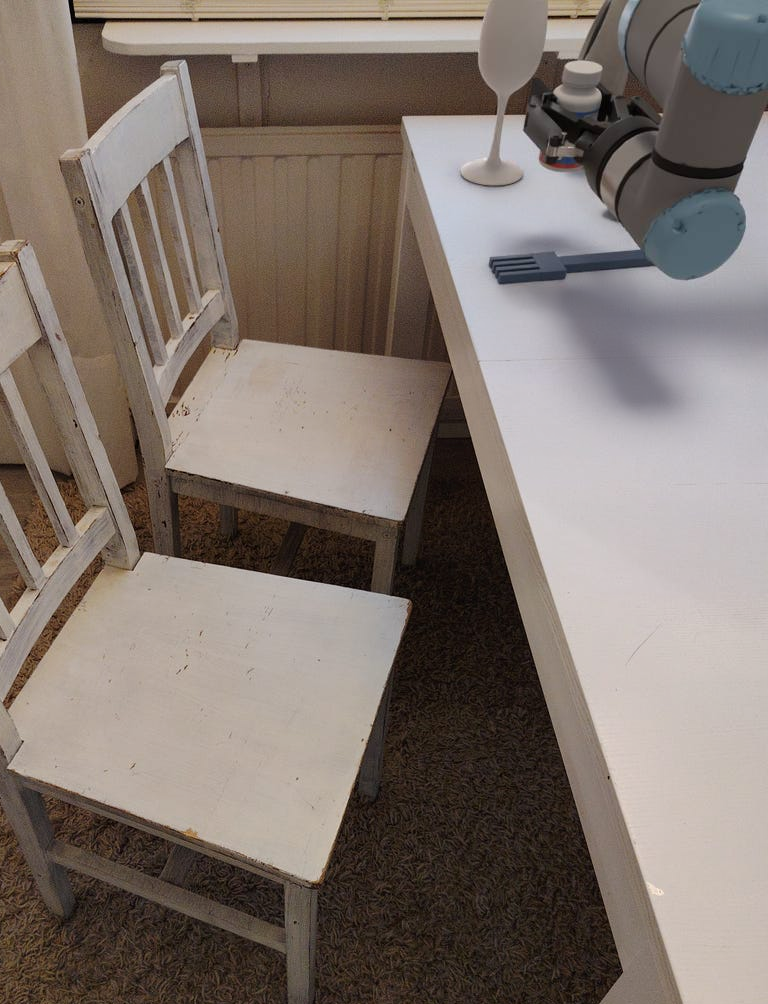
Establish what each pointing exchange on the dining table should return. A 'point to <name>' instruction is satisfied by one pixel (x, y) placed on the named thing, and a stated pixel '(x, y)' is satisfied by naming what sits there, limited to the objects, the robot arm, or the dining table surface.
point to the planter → (607, 47)
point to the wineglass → (507, 72)
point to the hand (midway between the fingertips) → (559, 89)
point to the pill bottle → (577, 101)
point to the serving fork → (560, 264)
